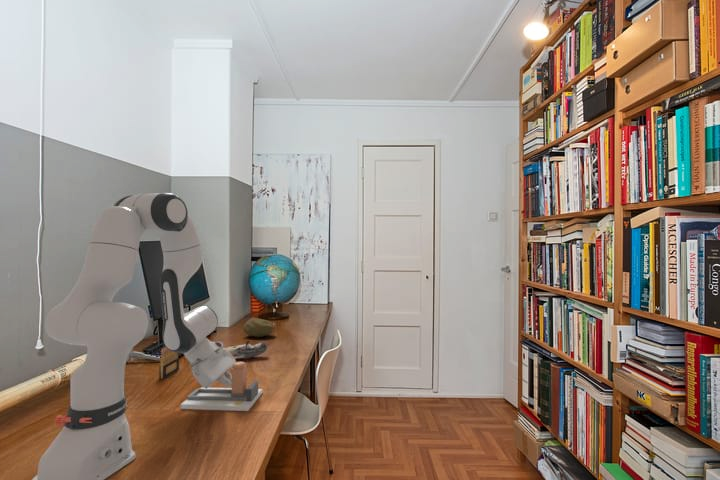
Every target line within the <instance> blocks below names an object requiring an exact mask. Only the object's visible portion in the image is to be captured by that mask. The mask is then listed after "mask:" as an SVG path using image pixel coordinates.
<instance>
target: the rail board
mask: <svg viewBox="0 0 720 480" xmlns="http://www.w3.org/2000/svg"><path fill="white" fill-rule="evenodd" d="M246 389H247V395H246V396H245V397H231V393H232V387H230V388H228V387H208V388H207V389H206V388H204V387H200V388H196V389H194V390H193V391H192V392H191V393H190V394H188V395H187V396H186V400H184V401H183V402H182V403H180V410H202V411H203V410H205V411H231V412H232V411H237V412H239V411H240V412H241V411H242V412H249V411H250V410H251V408H252V407H253V406H254V404H255V403H256V401H258V400H259V398H260V397H261V395H262V394H263V388H259V381H256V380H255V381H252V383H250V385H249V386H248V387H246Z"/></svg>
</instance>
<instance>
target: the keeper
mask: <svg viewBox="0 0 720 480" xmlns="http://www.w3.org/2000/svg"><path fill="white" fill-rule="evenodd" d="M231 376H232V386H231V388H232V393H231V397H245V396H246V395H247V365H246V362H244V361H236V363H233V367H232V368H231Z"/></svg>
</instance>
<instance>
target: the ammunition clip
mask: <svg viewBox="0 0 720 480" xmlns="http://www.w3.org/2000/svg"><path fill="white" fill-rule="evenodd" d="M160 357H161V359H160V361H159V362H160V365H159V373H158V375H159V376H158V377H159V380H165V379H167V378H168V377H170V376H171V375H173V374H175V373H176V372H177V370H178V371H179V370H180V362H179V361H180V360H179V359H180V358H179V353H176V352H173V351H171V350H169V349H168V348H166V346H165V345H164V347H161V351H160ZM174 372H175V373H174ZM169 375H170V376H169ZM166 377H167V378H166ZM164 378H165V379H164Z"/></svg>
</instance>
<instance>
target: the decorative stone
mask: <svg viewBox="0 0 720 480" xmlns="http://www.w3.org/2000/svg"><path fill="white" fill-rule="evenodd" d="M242 329H243V332H244V333H245V334H246V335H248V336H250V337H253V338H262V337H265V336H269V335H271V334H272V332H273V331H274V330H275V326H274V323H273V322H271V321H270V320H266V319H262V318H258V317H251V318H249V319H248V320H246V322H245V323H244V324H243V327H242Z"/></svg>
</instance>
